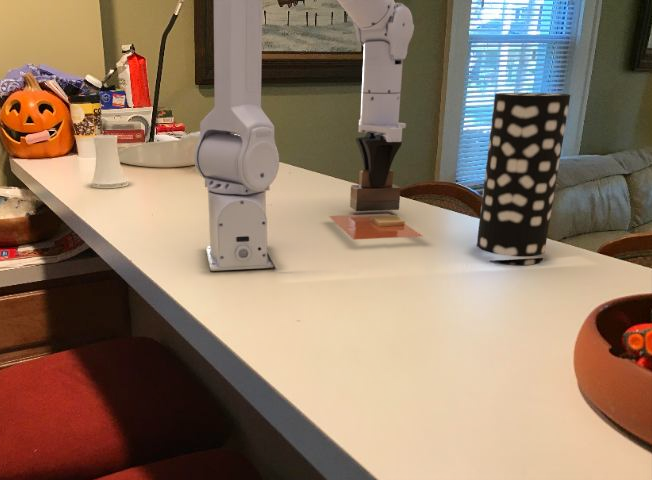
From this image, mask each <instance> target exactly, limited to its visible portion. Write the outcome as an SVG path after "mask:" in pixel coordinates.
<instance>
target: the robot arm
mask: <svg viewBox="0 0 652 480" xmlns="http://www.w3.org/2000/svg"><path fill="white" fill-rule="evenodd" d="M336 1H337V2H338V4H339V5H340V6H341V7H342V9H343V10H344V11H345V12H346V13H347V14H348V16H349V17H350V18H351V21H352V26H354V29H355V36H356V40H357V42H358V44H360V45H361V46H362V47H363V57H362V59H363V61H362V77H361V78H362V81H361V98H360V99H361V100H360V117H359V118H360V119H358V133H361V134H362V133H365V135H364V136H361V137H360V136H358V137H357V136H356V137H355V143H356V145H357V147H358V149H359V152H360V155H361V159H362V164H363V170H369V177H370V183H371V186H385V183H386V180H387V177H388V174H389V170H390V169H391V166H392V164H393V162H394V159H395V157H396V155H397V153H398V151H399V150H400V149H401V147H402V144H403V141H402V139H403V129H406V128H407V127H406V126H407V123H405V122H399V120H400V107H401V106H400V105H401V93H402V81H403V79H402V77H403V66H404V65H403V64H404V60H405V59H406V58H407V55H408V50H409V49H408V48H409V44H410V42H411V40H412V37H413V35H414V30H415V24H414V20H413V19H414V18H413V15H412V12H411V10H410V8H409V7H408V6H406V5H405V4H404V3H402V2H396V1H395V0H336ZM263 3H264V2H263V0H213V71H214V72H213V73H214V74H213V75H214V77H213V80H214V85H213V87H214V91H213V92H214V107H213V108H212V109H211V111H210V112H208V113H207V115H205V117H204V118H202V120H201V121H200V123H199V131H200V136H199V140H198V143H197V146H196V149H195V154H194V161H195V165H194V166H195V169H196V171H197V173H198V175H199V176H201V178H202V179H204V187H205V188H207V202H208V203H207V205H208V225H209V229H208V230H209V246H206V247H205V253H206V257H207V261H208V266H209V270H210V271H213V272H215V271H216V272H218V271H234V270H238V271H239V270H255V269H257V270H258V269H272V268H275V267H276V265H275V263H274V262H273V260H272V257H271V255H270V254H269V252H268V219H267V192H268V191H270V190H271V189H270V188H271V187H270V186H271V185H272V184H273V182H274V181H275V180H276V177H277V175H278V172H279V169H280V154H279V150H278V148H277V144H276V140H275V125H274V124H273V122H272V121H271V120H270V118H269V117H268V116H267V114H266V113H265V111H264V110H263V109H262V64H263V63H262V61H263V60H262V59H263V57H262V56H263ZM234 133H235V134H234Z"/></svg>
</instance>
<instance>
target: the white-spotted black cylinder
mask: <svg viewBox="0 0 652 480" xmlns="http://www.w3.org/2000/svg"><path fill="white" fill-rule="evenodd" d="M570 100H571V94H569V93H555V92H554V93H553V92H499V93H497V92H496V93H494V100H493V106H492V107H493V108H492V116H491V123H490V133H489V139H488V147H487V158H486V166H485V173H484V183H483V190H482V198H481V205H480V213H479V222H478V231H477V238H476V247H477V248H478V249H480V250H481V251H484V252H487V253H490V254H494V255H499V256H506V257H507V256H508V257H518V258H512V259H495V260H490V262H492V263H495V264H503V265H510V266H530V265H536V264H539V263H542V262H543V261H544V257H535V256H539V255H540V256H541V255H542V254H544V253H545V252H546V247H547V246H546V245H547V240H548V234H549V229H550V228H549V227H550V222H551V216H552V209H553V204H554V197H555V191H556V187H557V186H556V185H557V179H558V173H559V167H560V160H561V155H562V150H563V149H562V148H563V142H564V137H565V131H566V124H567V119H568V113H569V106H570ZM519 257H530V258H519ZM531 257H532V258H531ZM533 257H534V258H533Z"/></svg>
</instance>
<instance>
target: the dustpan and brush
mask: <svg viewBox="0 0 652 480" xmlns="http://www.w3.org/2000/svg"><path fill="white" fill-rule="evenodd" d="M199 136H200V130H198V131H193V132H191V133H187V134H182V135H181V137H180V138H178V137H175V136H172V135H169V134H164V133H163V134H155V135H154V136H153V137H154V139H155V140H156V141H150V142H143V143H138V144H134V145H133V144H132V145H128V146H126V147H122V148H119V149H118V157H119V161H120V163H123V164H127V165H130V166H131V165H132V166H138V167H145V168H165V169H166V168H169V169H171V168H182V167H190V166H195V161H194V154H195V149H196V146H197V143H198V140H199Z"/></svg>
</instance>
